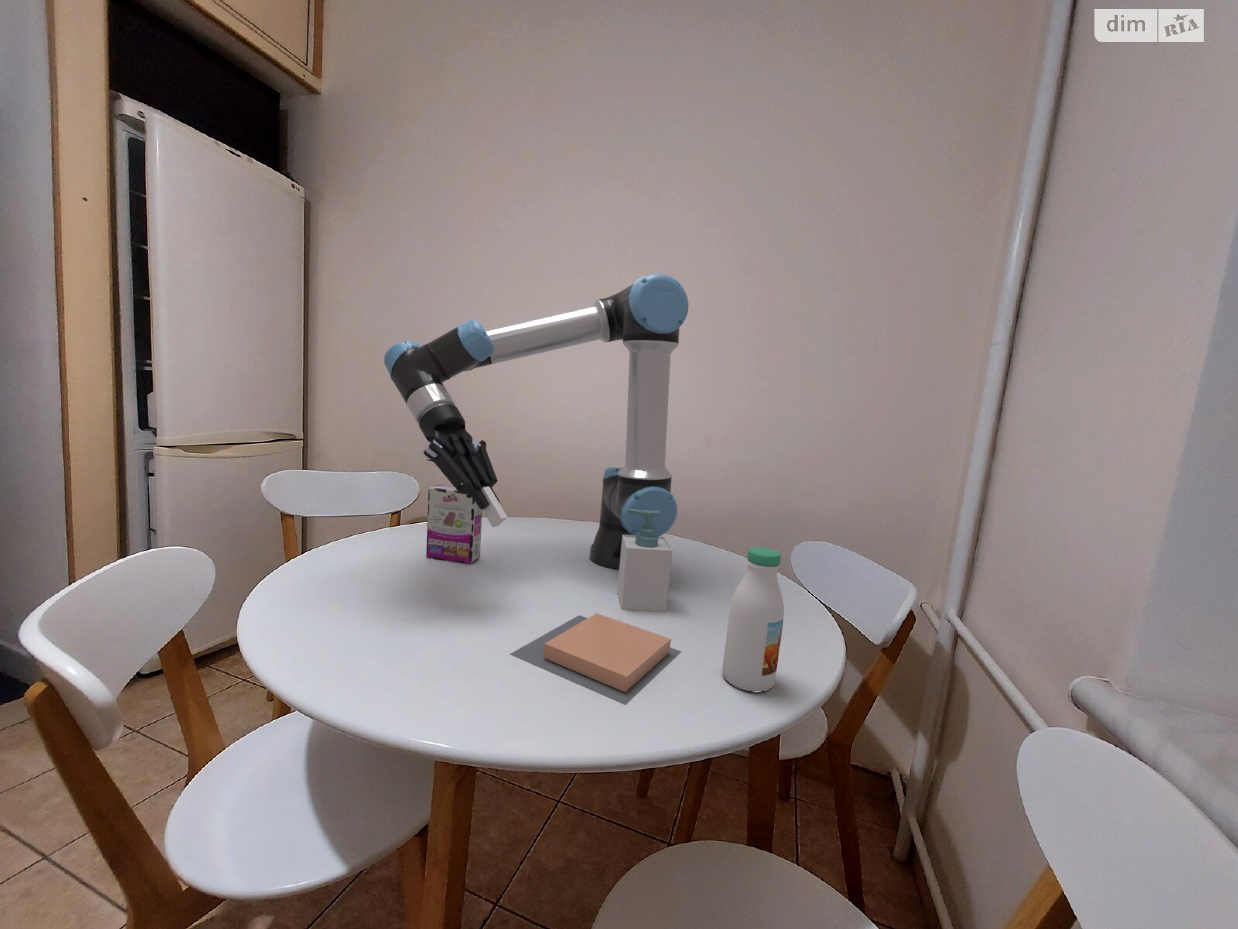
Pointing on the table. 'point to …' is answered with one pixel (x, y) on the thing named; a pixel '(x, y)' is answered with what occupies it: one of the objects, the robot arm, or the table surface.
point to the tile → (608, 651)
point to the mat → (535, 655)
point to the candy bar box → (453, 526)
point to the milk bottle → (755, 624)
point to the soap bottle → (644, 568)
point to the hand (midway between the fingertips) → (499, 522)
